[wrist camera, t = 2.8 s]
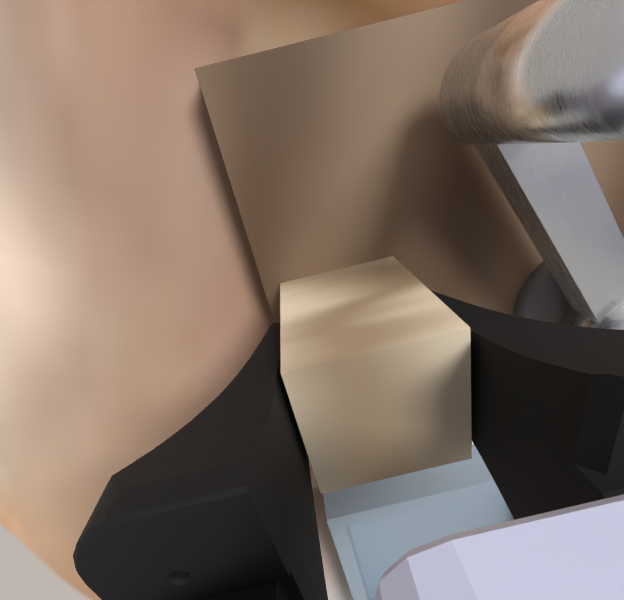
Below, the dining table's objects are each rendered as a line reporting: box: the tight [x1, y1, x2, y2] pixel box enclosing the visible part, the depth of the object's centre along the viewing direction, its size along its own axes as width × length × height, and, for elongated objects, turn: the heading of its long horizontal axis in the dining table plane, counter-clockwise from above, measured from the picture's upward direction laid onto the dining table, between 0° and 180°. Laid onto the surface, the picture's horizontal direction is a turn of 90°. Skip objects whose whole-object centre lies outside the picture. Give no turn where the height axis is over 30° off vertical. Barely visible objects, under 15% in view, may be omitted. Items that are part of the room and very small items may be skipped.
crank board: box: [195, 0, 624, 324], centre depth 11 cm, size 15×13×2 cm
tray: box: [323, 445, 514, 600], centre depth 19 cm, size 12×12×2 cm
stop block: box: [280, 256, 472, 494], centre depth 10 cm, size 4×4×5 cm
